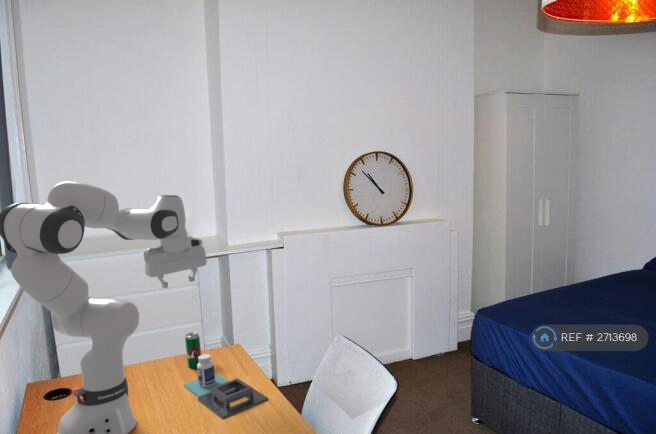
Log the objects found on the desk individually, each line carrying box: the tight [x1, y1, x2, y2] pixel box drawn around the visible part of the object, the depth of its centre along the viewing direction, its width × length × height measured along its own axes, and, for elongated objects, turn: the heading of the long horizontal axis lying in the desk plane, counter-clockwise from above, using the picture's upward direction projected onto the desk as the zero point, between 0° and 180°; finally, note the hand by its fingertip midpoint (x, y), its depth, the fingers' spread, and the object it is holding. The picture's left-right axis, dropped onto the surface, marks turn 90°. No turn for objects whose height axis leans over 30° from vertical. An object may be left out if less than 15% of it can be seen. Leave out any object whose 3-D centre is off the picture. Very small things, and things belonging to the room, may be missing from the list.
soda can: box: [184, 331, 202, 369], centre depth 195 cm, size 5×5×12 cm
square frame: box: [197, 378, 269, 420], centre depth 168 cm, size 16×16×4 cm
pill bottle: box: [196, 353, 215, 387], centre depth 179 cm, size 5×5×10 cm
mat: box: [182, 372, 230, 398], centre depth 179 cm, size 12×12×1 cm
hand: (178, 284), depth 179 cm, fingers open, 8 cm apart
